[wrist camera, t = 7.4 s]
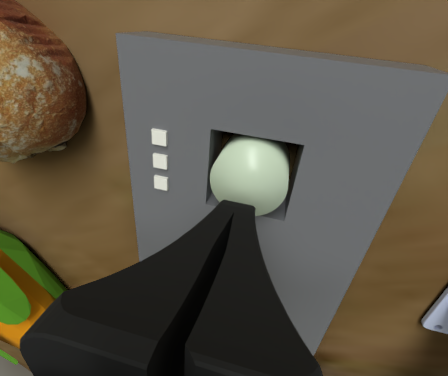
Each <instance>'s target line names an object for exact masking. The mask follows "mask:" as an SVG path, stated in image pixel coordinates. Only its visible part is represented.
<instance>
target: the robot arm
mask: <svg viewBox="0 0 448 376" xmlns="http://www.w3.org/2000/svg"><path fill="white" fill-rule="evenodd" d="M255 210H256V208H255V207H254V206H252V205H248V204H243V203H238V202H233V201H229V200H222V201H221V202H220V203H219V204H218V205H217V206H216V207H215V208H214V209H213V210H212V211H211V212H210V213H209V214H208V215H207V216H206V217H204V218H203V219H202V220H201V221H200V222H199V223H198V224H196V225H195V226H194V227H193V228H192V229H190V230H189V231H188V232H186V233H185V234H184V235H182V236H181V237H180V238H178V239H177V240H175V241H174V242H173V243H171V244H170V245H168V246H166V247H165V248H163V249H162V250H160V251H158V252H157V253H155V254H153V255H151V256H149V257H148V258H146V259H144V260H142V261H140V262H138V263H136V264H134V265H132V266H130V267H128V268H126V269H123V270H121V271H119V272H117V273H114V274H112V275H109V276H107V277H104V278H102V279H99V280H96V281H93V282H91V283H88V284H85V285H82V286H79V287H76V288H73V289H70V290H67V291H64V292H63V293H62V294H61V295H60V296H59V297H58V298H57V299H56V300H55V301H53V302H52V303H51V304H50V306H49V307H48V308H47V309H46V310H45V311H44V312H43V314H42V315H41V316H40V317H39V318H38V319H37V320H36V321H35V323H34V324H33V325H32V326H31V327H30V328H29V329H28V331H27V332H26V333H25V334H24V335H23V336H22V337H21V339H20V351H21V354H22V356H23V358H24V360H25V361H26V363H27V365H28V366H29V368H30V370H31V372H32V373H33V375H34V376H323V375H322V371H321V368H320V365H319V364H318V362H317V361H316V359H315V358H314V356H313V355H312V354H311V352H310V351H309V349H308V347H307V346H306V344H305V343H304V341H303V340H302V338H301V336H300V335H299V333H298V331H297V330H296V328H295V326H294V325H293V323H292V321H291V320H290V318H289V316H288V314H287V312H286V310H285V308H284V306H283V304H282V302H281V300H280V298H279V296H278V294H277V292H276V290H275V288H274V285H273V283H272V281H271V278H270V276H269V273H268V271H267V268H266V265H265V262H264V259H263V255H262V252H261V248H260V245H259V240H258V235H257V230H256V223H255ZM421 322H422V325H423V327H424V328H427V329H430V330H434V331H438V332H442V333H445V334H448V287H447V289H446V290H445V291H444V292H443V294H442V295H441V296H440V297H439V299H438V300H437V301H436V302H435V303H434V305H433V306H432V307H431V308H430V310H429V311H428V312H427V313H426V315H425V316H424V317H423V318H422V320H421Z"/></svg>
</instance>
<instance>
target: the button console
mask: <svg viewBox="0 0 448 376" xmlns="http://www.w3.org/2000/svg"><path fill="white" fill-rule="evenodd" d="M116 41H117V51H118V60H119V70H120V79H121V89H122V99H123V108H124V118H125V127H126V137H127V147H128V156H129V166H130V175H131V185H132V194H133V204H134V214H135V223H136V233H137V242H138V252H139V262H140V261H142V260H144V259H146V258H148V257H149V256H151V255H153V254H155V253H157V252H158V251H160V250H162V249H163V248H165V247H166V246H168V245H170V244H171V243H173V242H174V241H175V240H177V239H178V238H180V237H181V236H182V235H184V234H185V233H186V232H188V231H189V230H190V229H192V228H193V227H194V226H195V225H196V224H198V223H199V222H200V221H201V220H202V219H203V218H204V217H206V216H207V215H208V214H209V213H210V212H211V211H212V210H213V209H214V208H215V207H216V206H217V205H218V204H219V203H220V202H219V201H218V200H217V198H216V197H215V195H214V194H213V191H212V189H211V185H210V172H211V169H212V167H213V164H214V163H215V161H216V159H217V158H218V156H219V155H220V153H221V146H222V135H223V131H225V132H231V133H237V134H243V135H248V136H254V137H260V138H266V139H272V140H277V141H283V142H289V143H295V144H299V146H298V150H297V154H296V158H295V162H294V166H293V170H292V174H291V178H290V182H289V186H288V190H287V194H286V197H285V199H284V201H283V202H282V203H281V204H280V205H279V207H277V208H276V209H275V210H273V211H272V212H270V213H267V214H264V215H260V216H255V223H256V230H257V235H258V240H259V245H260V248H261V252H262V255H263V259H264V262H265V265H266V268H267V271H268V273H269V276H270V278H271V281H272V283H273V285H274V288H275V290H276V292H277V294H278V296H279V298H280V300H281V302H282V304H283V306H284V308H285V310H286V312H287V314H288V316H289V318H290V320H291V321H292V323H293V325H294V326H295V328H296V330H297V331H298V333H299V335H300V336H301V338H302V340H303V341H304V343H305V344H306V346H307V347H308V349H309V351H310V352H311V354H312V355H313V356H314V354H315V352H316V350H317V348H318V346H319V344H320V342H321V340H322V338H323V336H324V334H325V332H326V330H327V328H328V326H329V324H330V322H331V321H332V319H333V317H334V315H335V313H336V311H337V309H338V307H339V305H340V303H341V301H342V299H343V297H344V295H345V293H346V291H347V289H348V287H349V285H350V283H351V281H352V279H353V277H354V275H355V273H356V271H357V269H358V267H359V265H360V263H361V261H362V260H363V258H364V256H365V254H366V252H367V250H368V248H369V246H370V244H371V242H372V240H373V238H374V236H375V234H376V232H377V230H378V228H379V226H380V224H381V222H382V220H383V218H384V216H385V214H386V212H387V210H388V208H389V206H390V204H391V202H392V200H393V199H394V197H395V195H396V193H397V191H398V189H399V187H400V185H401V183H402V181H403V179H404V177H405V175H406V173H407V171H408V169H409V167H410V165H411V163H412V161H413V159H414V157H415V155H416V153H417V151H418V149H419V147H420V145H421V143H422V141H423V140H424V138H425V136H426V134H427V132H428V130H429V128H430V126H431V124H432V122H433V120H434V118H435V116H436V114H437V112H438V110H439V108H440V106H441V104H442V102H443V100H444V98H445V96H446V94H447V92H448V73H447V72H444V71H441V70H438V69H435V68H432V67H429V66H426V65H419V64H410V63H402V62H394V61H386V60H378V59H369V58H361V57H353V56H345V55H337V54H328V53H320V52H312V51H304V50H295V49H287V48H279V47H271V46H263V45H254V44H246V43H238V42H230V41H222V40H213V39H205V38H197V37H189V36H180V35H172V34H164V33H156V32H148V31H145V32H127V33H116Z"/></svg>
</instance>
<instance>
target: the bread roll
mask: <svg viewBox="0 0 448 376" xmlns="http://www.w3.org/2000/svg"><path fill="white" fill-rule="evenodd" d="M85 114H86V91H85V86H84V83H83V79H82V76H81V74H80V72H79V69H78V67H77V64H76V62H75V60H74V58H73V56H72V55H71V53H70V51H69V49H68V48H67V46H66V45H65V44H64V43H63V42H62V40H60V39H59V38H58V37H57V36H56V35H55V34H54V33H53V31H52V30H50V29H48V28H47V27H46V26H45V25H44V24H43V23H42V21H40V20H39V19H38V18H37V17H35V16H34V15H33V14H32V13H30V12H29V11H28V10H27V9H26V8H25V7H23V6H22V5H21V4H19V3H18V2H17V1H15V0H0V161H2V162H11V163H15V162H17V161H18V160H21V159H26V158H28V157H30V158H32V157H34V156H35V155H36V154H39V153H40V152H44V151H46V150H47V151H59V150H63V149H64V148H66V147H67V146H66V143H65V142H67V141H68V140H69V139H71V138H72V137H73V135H74V134H76V133H77V132H78V131H79V128H80V125H81V123H82V121H83V119H84V117H85ZM33 155H34V156H33Z"/></svg>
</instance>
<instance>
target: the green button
mask: <svg viewBox="0 0 448 376" xmlns="http://www.w3.org/2000/svg"><path fill="white" fill-rule="evenodd" d="M289 167H290V154H289V150H288V148H287V145H286V144H285V142H283V141H277V140H272V139H266V138H260V137H254V136H248V135H243V134H237V133H235V134H234V135H233V136H232V137H231V138H230V139H229V140H228V142H227V143H226V145H225V146H224V148H223V150H222V151H221V153H220V155H219V156H218V158H217V159H216V161H215V163H214V164H213V167H212V169H211V172H210V185H211V189H212V191H213V194H214V195H215V197H216V198H217V200H218V201H219V202H221V201H222V200H229V201H233V202H238V203H243V204H248V205H252V206H254V207H255V208H256V210H255V216H260V215H264V214H267V213H270V212H272V211H273V210H275V209H276V208H277V207H279V205H280V204H281V203H282V202H283V201H284V199H285V197H286V194H287V190H288V181H289Z"/></svg>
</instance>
